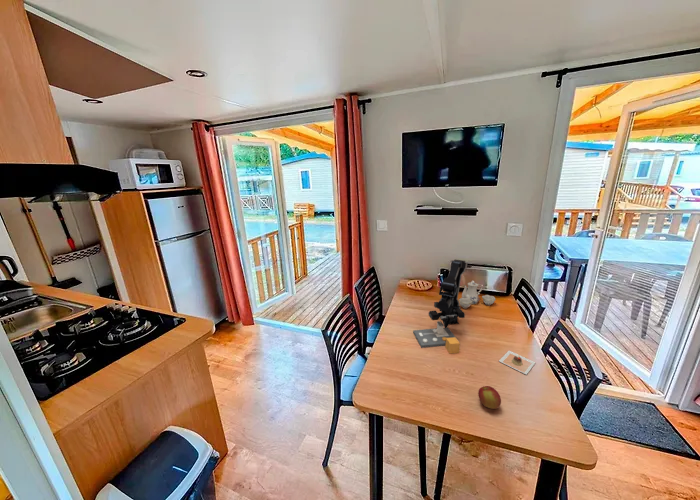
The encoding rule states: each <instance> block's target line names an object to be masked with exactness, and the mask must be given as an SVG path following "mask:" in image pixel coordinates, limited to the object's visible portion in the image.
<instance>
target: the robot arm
mask: <svg viewBox="0 0 700 500" xmlns="http://www.w3.org/2000/svg"><path fill="white" fill-rule="evenodd" d="M467 268H468V262H466V260H461V259H457V258H456V259H454V260H451V264H450V269H449V272H448V275H447V277H445V278H444V279H443V281H441V284H440V287H439V292H438V295H440V296H441V297H440V299H439V301H434V303H433V307H434V308H435V309H437V310H439V311H440V312H437V310H430V311H428V316H429V318H430V319H431V320H432V321H439V319H440V320H441V322H442V323H443V325H444V327H443V328H447V327H448V328H449V325H457V324H459V321H458V320H459V319H464V318H465V316H466V313H465V312H464V311H463V310H462V309H461V305H460V301H459V291H460V285H461V282H462V281H461V280H462V275H463V274H464V273H465V272H466V269H467Z"/></svg>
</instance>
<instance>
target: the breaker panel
mask: <svg viewBox="0 0 700 500" xmlns="http://www.w3.org/2000/svg"><path fill="white" fill-rule="evenodd" d="M436 330H437V327H436V328H425V329H424V328H423V329H413V331H412V332H413V335H414V337H415V339H416V340H417V342H418V344H419V346H420V348H422V349H424V348H434V347H435V348H436V347H445V346H446V338H453V337H455V338H456V339H457V340H458V338H457V336H455V334H454V333H453V332H452V330H451V329H450V328H449V326H448V327H447V328H445V327H443V334H438V333H437V331H436ZM458 341H459V340H458ZM459 343H460V341H459ZM460 344H461V343H460Z"/></svg>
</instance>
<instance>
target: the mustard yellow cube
mask: <svg viewBox="0 0 700 500" xmlns="http://www.w3.org/2000/svg"><path fill="white" fill-rule="evenodd" d="M455 337H456V336H455ZM455 337H453V338H446V346H444V347H445V350H446V351H447V352H448V354H450V355H452V354H460V347H461V343H459V342H460V340H457V339H458V338H457V337H456V338H457V339H456V338H455Z"/></svg>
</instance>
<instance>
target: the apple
mask: <svg viewBox="0 0 700 500" xmlns="http://www.w3.org/2000/svg"><path fill="white" fill-rule="evenodd" d="M477 394H478V395H477V396H478V399H479V401H480V403H481V404H482V405H483V406H484V407H486V408H488V409H494V410H495V409H498V408H500V406H501V404H502V399H501V396H500V393H499V392H498V391H497V390H496V388H494V387H492V386H490V385H486V386H481V387H480V388H479V389H478V393H477Z"/></svg>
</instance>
